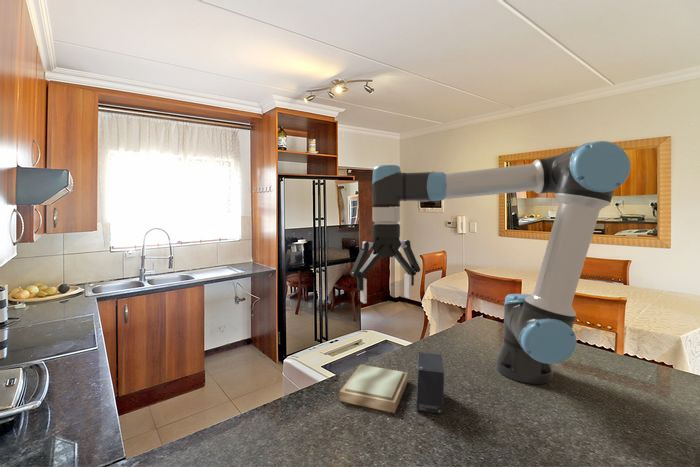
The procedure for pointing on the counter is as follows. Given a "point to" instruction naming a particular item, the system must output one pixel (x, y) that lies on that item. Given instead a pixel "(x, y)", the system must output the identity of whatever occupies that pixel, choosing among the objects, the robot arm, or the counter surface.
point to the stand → (375, 388)
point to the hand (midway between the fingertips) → (386, 299)
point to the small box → (430, 383)
